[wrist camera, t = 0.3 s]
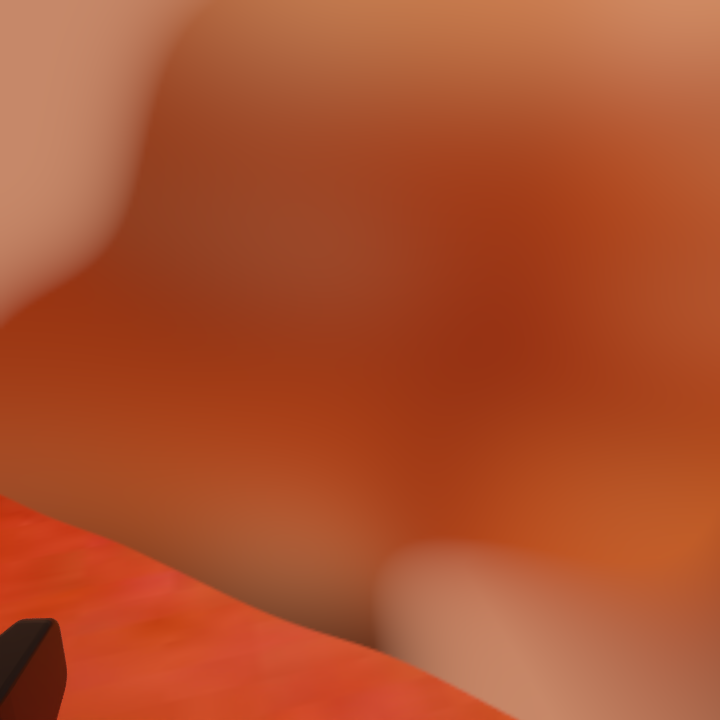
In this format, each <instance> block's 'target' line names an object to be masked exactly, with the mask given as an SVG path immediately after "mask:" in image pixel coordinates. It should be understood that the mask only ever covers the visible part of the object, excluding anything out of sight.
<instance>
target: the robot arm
mask: <svg viewBox="0 0 720 720" xmlns="http://www.w3.org/2000/svg"><path fill="white" fill-rule="evenodd" d="M66 680H67V666H66V660H65V654H64V649H63V643H62V637H61V631H60V627H59V624H58V622H57V621H56V620H55V619H52V618H32V619H22V620H20V621H18V622H16V623H15V624H13V625H12V626H11V627H9V628H8V629H7V630H6V631H4V632H3V633H2V634H1V635H0V720H57V717H58V713H59V709H60V706H61V702H62V699H63V695H64V691H65V687H66Z"/></svg>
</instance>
